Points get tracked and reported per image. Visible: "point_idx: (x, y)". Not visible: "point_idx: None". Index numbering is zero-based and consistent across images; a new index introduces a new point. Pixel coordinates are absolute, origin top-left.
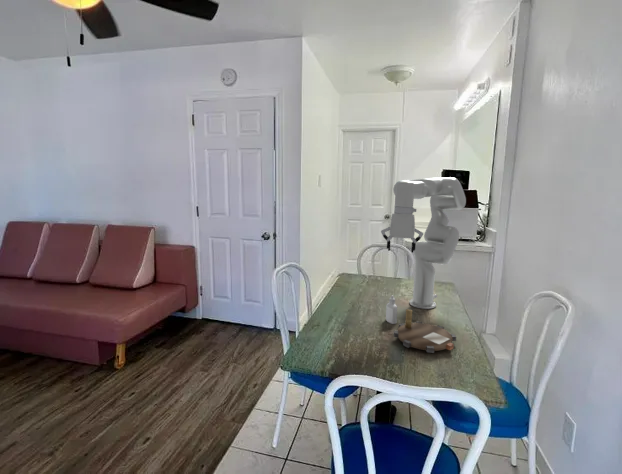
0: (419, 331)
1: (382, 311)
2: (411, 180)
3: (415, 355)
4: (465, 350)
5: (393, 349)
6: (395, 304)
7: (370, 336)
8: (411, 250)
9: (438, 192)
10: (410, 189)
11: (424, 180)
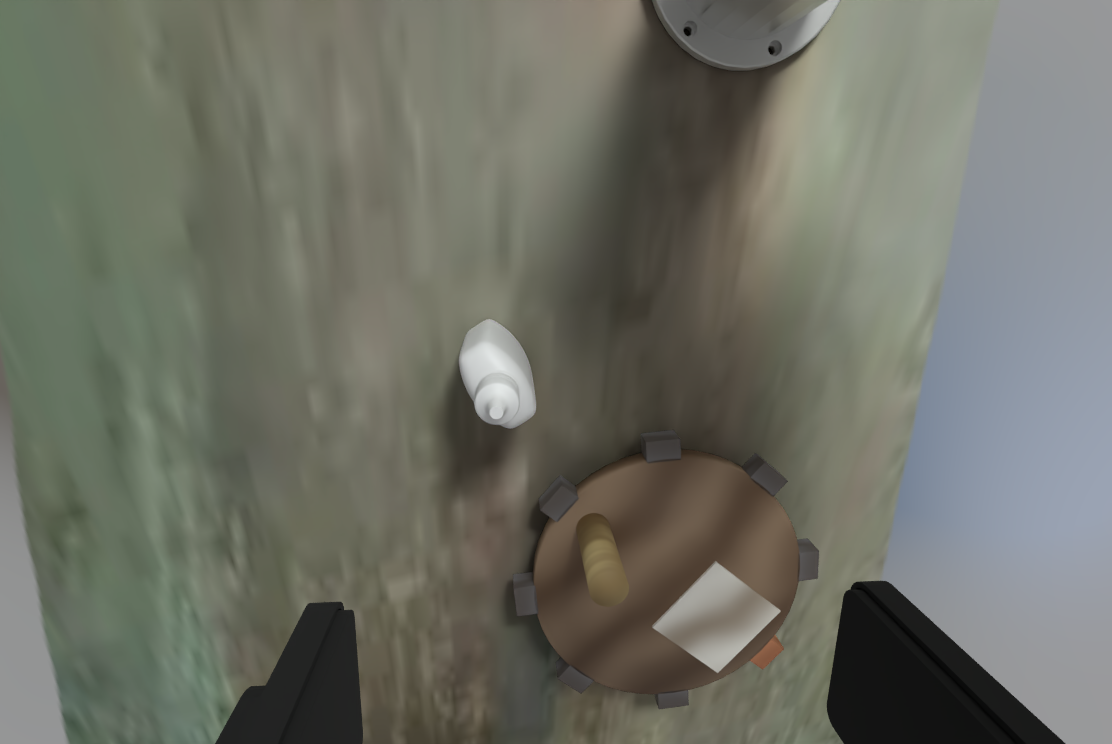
0: (647, 565)
1: (437, 191)
2: None
3: None
4: (825, 585)
5: (513, 655)
6: (523, 396)
7: (398, 566)
8: (850, 658)
9: None
10: None
11: None
